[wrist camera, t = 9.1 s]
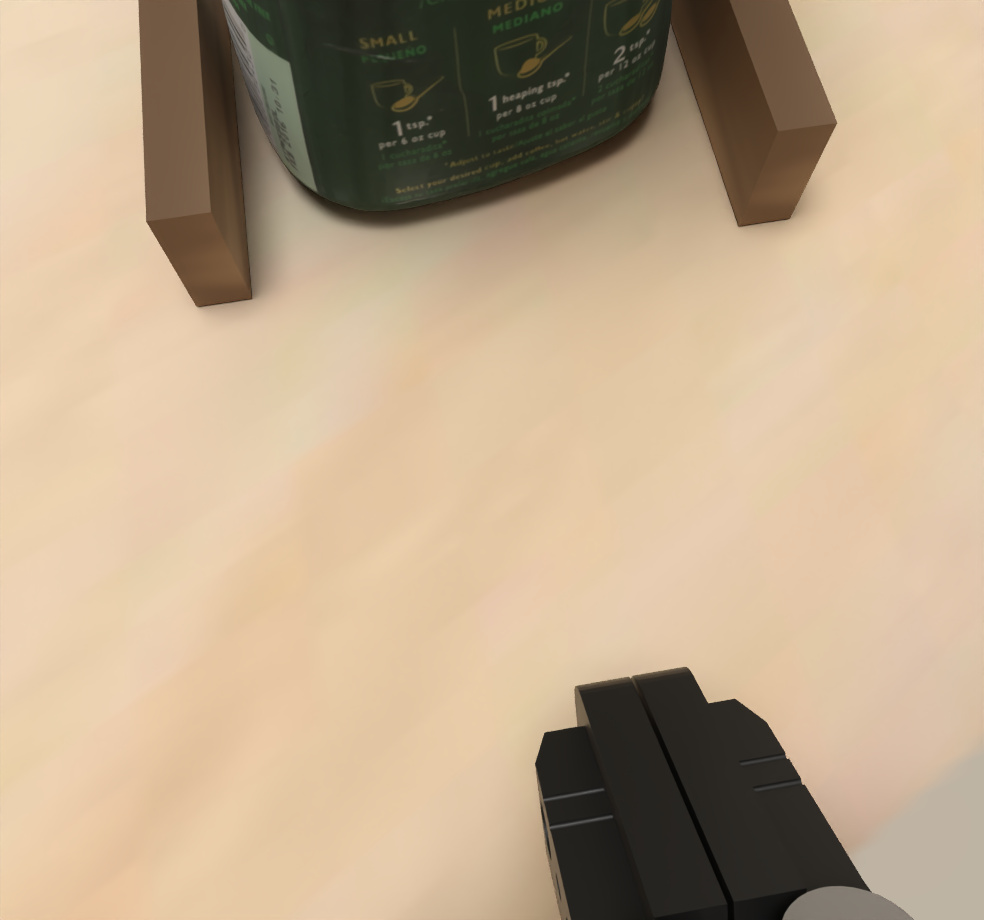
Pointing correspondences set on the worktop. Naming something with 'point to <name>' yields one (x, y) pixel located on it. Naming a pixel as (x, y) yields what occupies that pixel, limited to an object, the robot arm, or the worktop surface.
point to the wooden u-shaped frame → (215, 148)
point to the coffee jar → (442, 88)
